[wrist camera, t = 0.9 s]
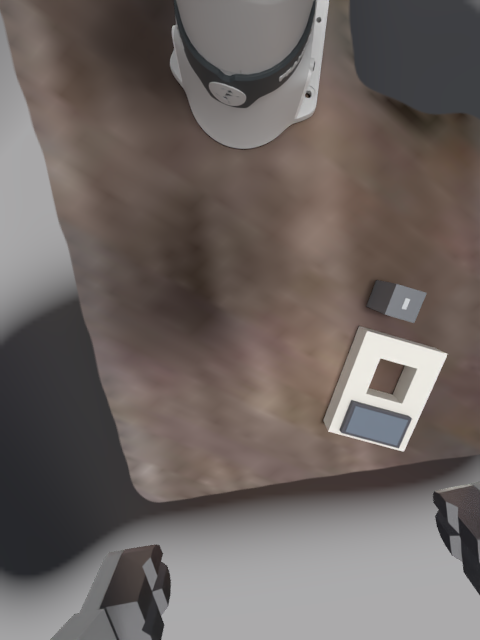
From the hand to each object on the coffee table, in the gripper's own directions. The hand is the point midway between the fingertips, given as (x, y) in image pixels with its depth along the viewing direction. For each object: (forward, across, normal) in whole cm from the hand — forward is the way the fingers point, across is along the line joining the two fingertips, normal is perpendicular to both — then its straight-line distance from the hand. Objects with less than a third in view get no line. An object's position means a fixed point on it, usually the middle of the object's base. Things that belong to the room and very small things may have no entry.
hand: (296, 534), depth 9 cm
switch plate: (+37, -16, +16) cm, 44 cm away
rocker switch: (+37, -19, +3) cm, 42 cm away
